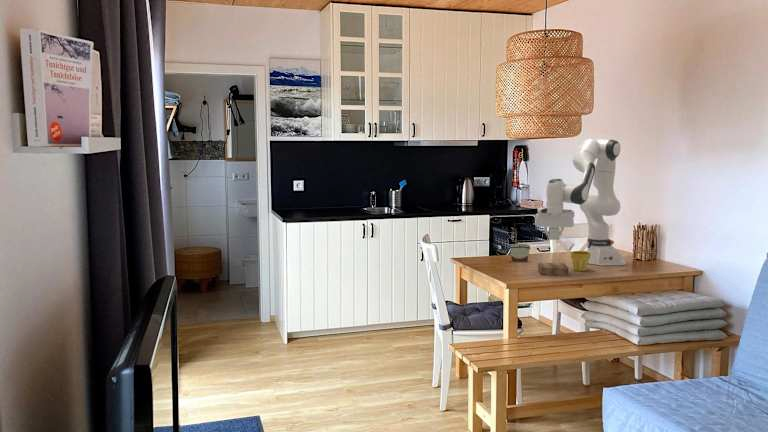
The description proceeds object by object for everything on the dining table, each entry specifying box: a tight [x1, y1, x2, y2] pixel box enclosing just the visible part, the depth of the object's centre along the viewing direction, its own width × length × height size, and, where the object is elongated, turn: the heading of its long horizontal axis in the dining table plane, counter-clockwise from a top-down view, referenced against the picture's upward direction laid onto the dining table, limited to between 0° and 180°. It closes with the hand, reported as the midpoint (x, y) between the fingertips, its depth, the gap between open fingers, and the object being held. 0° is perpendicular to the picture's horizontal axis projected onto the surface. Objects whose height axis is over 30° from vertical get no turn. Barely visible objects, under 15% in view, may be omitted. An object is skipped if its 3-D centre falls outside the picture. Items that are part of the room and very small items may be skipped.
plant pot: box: [570, 250, 590, 272], centre depth 357 cm, size 10×10×10 cm
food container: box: [508, 243, 531, 263], centre depth 382 cm, size 12×6×10 cm, turn 84°
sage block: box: [547, 227, 561, 241], centre depth 348 cm, size 5×5×6 cm
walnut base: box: [537, 262, 569, 277], centre depth 350 cm, size 14×14×4 cm
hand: (553, 235), depth 348 cm, fingers closed on sage block, 5 cm apart
